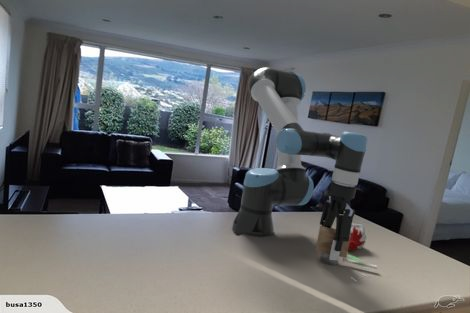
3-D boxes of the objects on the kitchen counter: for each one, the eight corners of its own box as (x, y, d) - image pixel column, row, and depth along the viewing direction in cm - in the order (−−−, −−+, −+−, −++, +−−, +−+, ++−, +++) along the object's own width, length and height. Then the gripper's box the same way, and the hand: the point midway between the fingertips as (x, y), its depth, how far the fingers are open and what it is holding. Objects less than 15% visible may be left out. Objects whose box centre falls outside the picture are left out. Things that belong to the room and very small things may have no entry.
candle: (360, 242, 129) (366, 263, 114) (330, 235, 131) (332, 255, 116) (366, 221, 126) (373, 240, 112) (335, 214, 128) (338, 232, 114)
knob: (314, 261, 104) (320, 230, 102) (314, 254, 109) (320, 225, 108) (377, 275, 100) (384, 244, 99) (374, 268, 105) (380, 238, 104)
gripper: (374, 193, 94) (355, 270, 97) (338, 176, 112) (324, 242, 115) (350, 191, 92) (332, 269, 95) (318, 174, 110) (304, 240, 114)
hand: (328, 254), depth 105 cm, fingers closed on knob, 6 cm apart
